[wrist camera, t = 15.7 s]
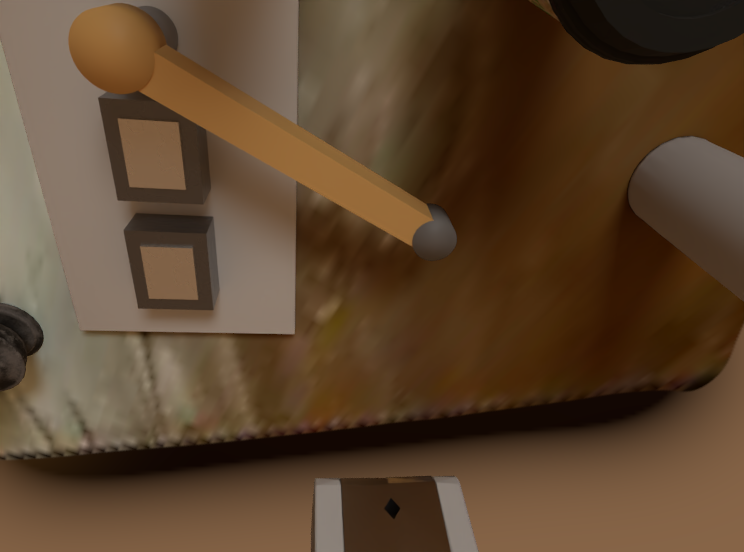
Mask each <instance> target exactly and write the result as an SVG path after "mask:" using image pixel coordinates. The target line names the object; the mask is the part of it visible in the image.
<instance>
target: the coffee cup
mask: <svg viewBox="0 0 744 552" xmlns="http://www.w3.org/2000/svg"><path fill="white" fill-rule="evenodd" d="M529 1H530V2H531V3H533V4H534V5H536V6H537V7H539V8H540V9H542V10H543V11H545V12H546V13H548V14H549V15H550V16H552V17H553V18H555V19H556V20H558V21H559V22H561V24H562V26H563V27H564V29H565V30H566V32H568V33H569V34H570V35H571V36H572V37H573V38H574V39H575V40H576V41H577V42H578V43H579V44H581V45H582V46H583V47H584V48H586V49H587V50H589V51H591V52H593V53H595V54H597V55H599V56H600V57H602V58H604V59H608V60H612V61H616V62H620V63H624V64H662V63H667V62H672V61H677V60H682V59H686V58H689V57H691V56H694V55H696V54H699V53H701V52H704V51H706V50H709V49H711V48H713V47H715V46H717V45H719V44H722V43H724V42H727V41H729V40H732V39H734V38H736V37H738V36H740V35H741V34H743V33H744V0H529Z"/></svg>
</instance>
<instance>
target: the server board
mask: <svg viewBox="0 0 744 552" xmlns="http://www.w3.org/2000/svg"><path fill="white" fill-rule="evenodd" d="M114 3H125V4H130V5H133V6H136V7H138V8H140V9H142V10H143V11H145V12H146V13H148V14H149V15H150V16H151V17H152V18H153V19H154V20H155V21H156V23H157V24H158V25H159V27H160V28H161V30H162V32H163V34H164V36H165V39H166V43H167V45H168V46H169V47H171V48H173V49H174V50H176V51H177V52H179V53H181V54H182V55H184V56H186V57H187V58H189V59H191V60H192V61H194V62H195V63H197V64H199V65H200V66H202V67H204V68H205V69H207V70H208V71H210V72H212V73H213V74H215V75H217V76H218V77H220V78H221V79H223V80H225V81H226V82H228V83H230V84H231V85H233V86H235V87H236V88H238V89H239V90H241V91H243V92H244V93H246V94H248V95H249V96H251V97H252V98H254V99H256V100H257V101H259V102H261V103H262V104H264V105H265V106H267V107H269V108H270V109H272V110H274V111H275V112H277V113H279V114H280V115H282V116H283V117H285V118H287V119H288V120H290V121H292V122H293V123H295V124H296V125H297V120H298V34H299V0H0V38H1V42H2V45H3V49H4V53H5V56H6V60H7V64H8V67H9V71H10V75H11V78H12V82H13V86H14V89H15V93H16V97H17V100H18V104H19V108H20V111H21V115H22V119H23V122H24V126H25V130H26V133H27V137H28V141H29V144H30V148H31V152H32V155H33V159H34V162H35V166H36V170H37V173H38V177H39V181H40V184H41V188H42V192H43V195H44V199H45V203H46V206H47V210H48V214H49V217H50V221H51V225H52V228H53V232H54V236H55V239H56V243H57V247H58V250H59V254H60V258H61V261H62V265H63V269H64V272H65V276H66V280H67V283H68V287H69V291H70V294H71V298H72V302H73V305H74V309H75V312H76V316H77V320H78V323H79V327H80V330H91V331H146V332H201V333H257V334H295V292H296V206H297V181H296V180H294V179H292V178H291V177H289V176H287V175H285V174H284V173H282V172H280V171H278V170H277V169H275V168H273V167H271V166H270V165H268V164H266V163H264V162H262V161H261V160H259V159H257V158H255V157H254V156H252V155H250V154H248V153H247V152H245V151H243V150H241V149H240V148H238V147H236V146H234V145H233V144H231V143H229V142H227V141H226V140H224V139H222V138H220V137H219V136H217V135H215V134H213V133H211V132H210V131H208V130H206V134H207V146H208V158H209V170H210V181H211V190H210V192H209V194H208V196H207V198H206V201H205V203H204V205H201V204H179V203H158V202H137V201H118V200H117V195H116V189H115V184H114V179H113V174H112V169H111V163H110V158H109V153H108V148H107V142H106V137H105V132H104V127H103V121H102V116H101V111H100V106H99V100H98V97H100V96H101V95H103V94H104V93H106V92H107V91H104V90H102V89H100V88H98V87H96V86H95V85H93V84H92V83H91V82H89V81H88V80H87V79H86V78H85V77H84V76H83V75H82V74H81V73H80V71H79V70H78V68H77V67H76V65H75V63H74V62H73V59H72V57H71V54H70V50H69V44H68V37H69V31H70V27H71V25H72V23H73V21H74V20H75V19H76V17H77V16H78V15H80V14H81V13H82V12H84V11H86V10H88V9H92V8H96V7H100V6H105V5H109V4H114ZM136 213H145V214H168V215H190V216H213V217H214V229H215V241H216V253H217V265H218V277H219V289H220V291H219V294H218V297H217V301H216V304H215V307H214V310H177V309H138V305H137V299H136V294H135V289H134V284H133V278H132V273H131V268H130V263H129V258H128V252H127V247H126V242H125V237H124V231H123V230H124V229H125V227H126V226H127V225H128V223H129V222H130V220H131V219H132V218H133V216H134V215H135V214H136Z"/></svg>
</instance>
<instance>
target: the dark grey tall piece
mask: <svg viewBox="0 0 744 552" xmlns="http://www.w3.org/2000/svg"><path fill="white" fill-rule="evenodd" d="M42 343H43V331H42V329H41V327H40V325H39V324H38V323H37V321H36V320H35V319H34V318H33V317H32V316H30V315H29V314H28V313H26V312H25V311H23V310H21V309H19V308H17V307H14V306H11V305H8V304H3V303H0V391H4V390H8V389H11V388H13V387H14V386H16V385H18V384H19V383H20V382H21V380H22V379H23V378H24V375H25V371H26V367H25V366H26V362H27V356H29V355H32V354H33V353H35V352H36V351H38V349H39V348H40V347H41V345H42Z"/></svg>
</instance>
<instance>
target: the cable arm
mask: <svg viewBox="0 0 744 552" xmlns="http://www.w3.org/2000/svg"><path fill="white" fill-rule="evenodd" d="M68 44H69V50H70V54H71V57H72V59H73V62H74V63H75V65H76V67H77V68H78V70H79V71H80V73H81V74H82V75H83V76H84V77H85V78H86V79H87V80H88V81H89V82H91V83H92V84H93V85H95V86H96V87H98V88H100V89H102V90H104V91H107V92H110V93H114V94H129V93H133V92H136V91H139V92H141V93H143V94H145V95H146V96H148V97H150V98H152V99H153V100H155V101H157V102H159V103H160V104H162V105H164V106H166V107H167V108H169V109H171V110H173V111H175V112H176V113H178V114H180V115H182V116H183V117H185V118H187V119H189V120H190V121H192V122H194V123H196V124H197V125H199V126H201V127H203V128H204V129H206V130H208V131H210V132H211V133H213V134H215V135H217V136H219V137H220V138H222V139H224V140H226V141H227V142H229V143H231V144H233V145H234V146H236V147H238V148H240V149H241V150H243V151H245V152H247V153H248V154H250V155H252V156H254V157H255V158H257V159H259V160H261V161H262V162H264V163H266V164H268V165H270V166H271V167H273V168H275V169H277V170H278V171H280V172H282V173H284V174H285V175H287V176H289V177H291V178H292V179H294V180H296V181H298V182H299V183H301V184H303V185H305V186H306V187H308V188H310V189H312V190H314V191H315V192H317V193H319V194H321V195H322V196H324V197H326V198H328V199H329V200H331V201H333V202H335V203H336V204H338V205H340V206H342V207H343V208H345V209H347V210H349V211H350V212H352V213H354V214H356V215H358V216H359V217H361V218H363V219H365V220H366V221H368V222H370V223H372V224H373V225H375V226H377V227H379V228H380V229H382V230H384V231H386V232H387V233H389V234H391V235H393V236H394V237H396V238H398V239H400V240H401V241H403V242H405V243H407V244H409V245H410V246H412V247H413V249H414V251H415V253H416V254H417V255H418V256H419V257H421V258H422V259H425V260H429V261H435V260H440V259H443V258H445V257H446V256H448V255H449V254H450V253H451V252H452V251H453V249H454V248H455V246H456V242H457V235H456V232H455V230H454V228H453V226H452V224H451V222H450V220H449V217H448V215H447V213H446V212H445V210H444V209H443V208H442V207H440V206H438V205H436V204H425V203H424V202H422V201H420V200H419V199H417V198H415V197H414V196H412V195H411V194H409V193H407V192H406V191H404V190H402V189H401V188H399V187H398V186H396V185H394V184H393V183H391V182H389V181H388V180H386V179H384V178H383V177H381V176H380V175H378V174H376V173H375V172H373V171H371V170H370V169H368V168H367V167H365V166H363V165H362V164H360V163H358V162H357V161H355V160H354V159H352V158H350V157H349V156H347V155H345V154H344V153H342V152H340V151H339V150H337V149H336V148H334V147H332V146H331V145H329V144H327V143H326V142H324V141H323V140H321V139H319V138H318V137H316V136H314V135H313V134H311V133H310V132H308V131H306V130H305V129H303V128H301V127H300V126H298V125H296V124H295V123H293V122H292V121H290V120H288V119H287V118H285V117H283V116H282V115H280V114H279V113H277V112H275V111H274V110H272V109H270V108H269V107H267V106H265V105H264V104H262V103H261V102H259V101H257V100H256V99H254V98H252V97H251V96H249V95H248V94H246V93H244V92H243V91H241V90H239V89H238V88H236V87H235V86H233V85H231V84H230V83H228V82H226V81H225V80H223V79H221V78H220V77H218V76H217V75H215V74H213V73H212V72H210V71H208V70H207V69H205V68H204V67H202V66H200V65H199V64H197V63H195V62H194V61H192V60H191V59H189V58H187V57H186V56H184V55H182V54H181V53H179V52H177V51H176V50H174V49H173V48H171V47H169V46H168V45H167V43H166V39H165V36H164V34H163V32H162V30H161V28H160V27H159V25H158V24H157V23H156V21H155V20H154V19H153V18H152V17H151V16H150V15H149V14H148V13H146V12H145V11H143V10H142V9H140V8H138V7H136V6H133V5H130V4H125V3H114V4H109V5H105V6H100V7H96V8H92V9H88V10H86V11H84V12H82V13H81V14H80V15H78V16H77V17H76V19H75V20H74V21H73V23H72V25H71V27H70V31H69V37H68Z"/></svg>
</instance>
